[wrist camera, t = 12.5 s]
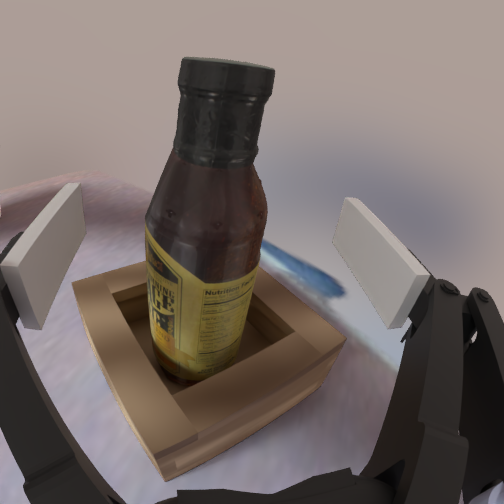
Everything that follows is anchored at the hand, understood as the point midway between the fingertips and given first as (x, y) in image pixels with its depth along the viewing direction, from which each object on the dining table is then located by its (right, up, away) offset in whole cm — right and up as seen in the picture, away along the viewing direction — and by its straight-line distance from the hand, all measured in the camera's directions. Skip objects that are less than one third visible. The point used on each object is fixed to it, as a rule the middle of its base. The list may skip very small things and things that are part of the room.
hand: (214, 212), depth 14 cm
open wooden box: (-2, -11, +8) cm, 14 cm away
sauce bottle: (-3, -10, +8) cm, 13 cm away
